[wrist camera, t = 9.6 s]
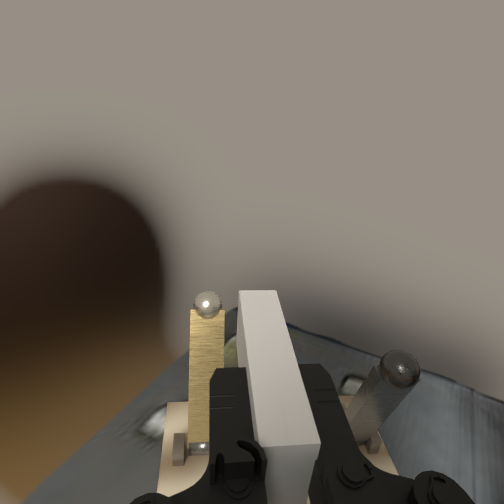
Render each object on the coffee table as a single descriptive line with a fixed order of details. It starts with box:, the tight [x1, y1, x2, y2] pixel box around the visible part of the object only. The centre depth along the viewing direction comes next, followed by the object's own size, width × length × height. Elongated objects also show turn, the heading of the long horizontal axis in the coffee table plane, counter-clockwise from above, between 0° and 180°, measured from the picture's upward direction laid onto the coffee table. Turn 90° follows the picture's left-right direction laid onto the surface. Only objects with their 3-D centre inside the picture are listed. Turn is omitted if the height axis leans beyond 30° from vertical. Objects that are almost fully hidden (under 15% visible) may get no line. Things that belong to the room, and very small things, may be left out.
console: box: [157, 395, 399, 504], centre depth 34 cm, size 12×22×4 cm, turn 97°
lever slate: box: [345, 350, 420, 446], centre depth 30 cm, size 3×3×15 cm
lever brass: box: [187, 291, 225, 456], centre depth 33 cm, size 3×3×15 cm
